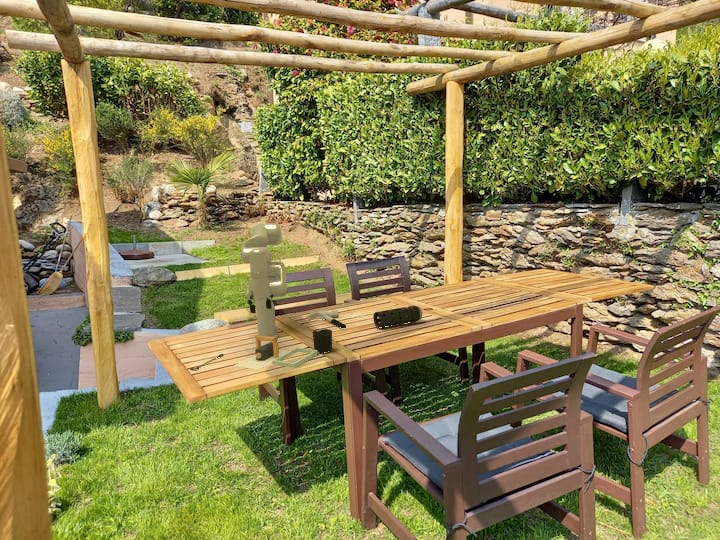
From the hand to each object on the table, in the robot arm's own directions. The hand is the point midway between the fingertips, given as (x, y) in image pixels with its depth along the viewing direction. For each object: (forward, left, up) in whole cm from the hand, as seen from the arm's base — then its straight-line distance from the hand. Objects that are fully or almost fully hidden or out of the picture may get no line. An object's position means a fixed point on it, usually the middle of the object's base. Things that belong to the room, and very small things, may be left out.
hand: (261, 310), depth 224 cm
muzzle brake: (-72, +42, -22) cm, 86 cm away
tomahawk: (+18, -17, -23) cm, 34 cm away
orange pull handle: (+2, +4, -21) cm, 22 cm away
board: (+5, +4, -22) cm, 23 cm away
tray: (0, +18, -22) cm, 29 cm away
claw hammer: (-62, +2, -23) cm, 66 cm away
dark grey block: (+2, +4, -21) cm, 22 cm away
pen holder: (-16, +24, -22) cm, 36 cm away
